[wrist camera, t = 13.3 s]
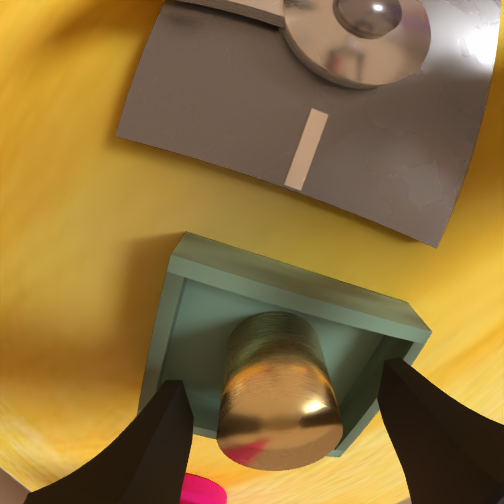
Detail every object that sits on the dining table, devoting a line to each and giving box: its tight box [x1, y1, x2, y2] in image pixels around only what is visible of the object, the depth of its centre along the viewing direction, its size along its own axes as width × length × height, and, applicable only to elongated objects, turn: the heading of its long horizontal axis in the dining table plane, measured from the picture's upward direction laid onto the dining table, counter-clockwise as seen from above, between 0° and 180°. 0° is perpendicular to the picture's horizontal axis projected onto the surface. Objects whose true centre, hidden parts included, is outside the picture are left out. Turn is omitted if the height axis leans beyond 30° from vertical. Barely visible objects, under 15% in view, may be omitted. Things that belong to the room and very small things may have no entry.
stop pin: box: [216, 311, 343, 471], centre depth 11 cm, size 4×4×5 cm
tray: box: [137, 232, 432, 457], centre depth 13 cm, size 10×8×3 cm
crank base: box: [115, 0, 501, 248], centre depth 9 cm, size 13×13×1 cm
